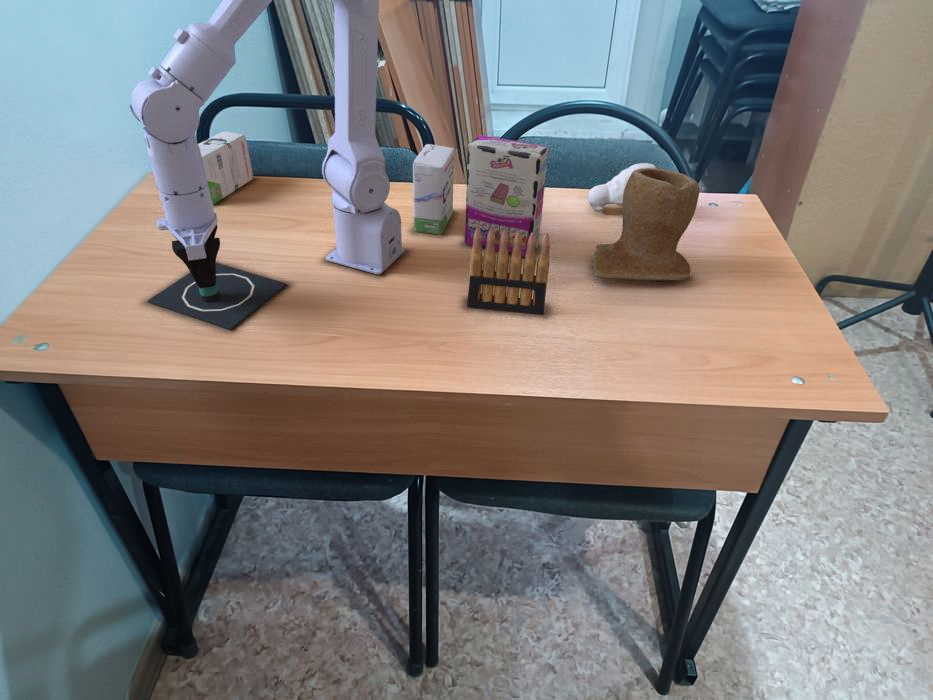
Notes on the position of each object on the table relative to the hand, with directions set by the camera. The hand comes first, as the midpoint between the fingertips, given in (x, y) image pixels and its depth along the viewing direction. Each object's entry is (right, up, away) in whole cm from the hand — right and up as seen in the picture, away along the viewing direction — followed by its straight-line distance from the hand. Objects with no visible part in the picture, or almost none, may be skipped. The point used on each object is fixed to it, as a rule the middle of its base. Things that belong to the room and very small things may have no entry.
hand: (206, 280), depth 87 cm
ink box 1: (-10, +19, +21) cm, 30 cm away
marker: (0, -2, +2) cm, 3 cm away
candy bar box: (+41, +7, +17) cm, 44 cm away
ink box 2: (+29, +12, +22) cm, 39 cm away
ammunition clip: (+40, -4, +3) cm, 41 cm away
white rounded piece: (+62, +15, +28) cm, 69 cm away
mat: (+1, -2, +3) cm, 3 cm away
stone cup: (+61, +3, +13) cm, 62 cm away
